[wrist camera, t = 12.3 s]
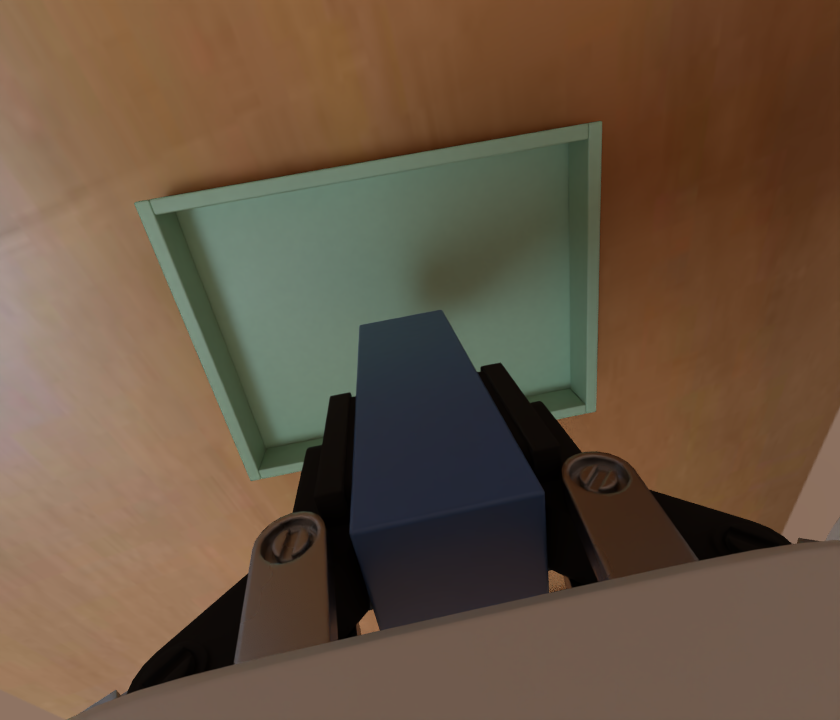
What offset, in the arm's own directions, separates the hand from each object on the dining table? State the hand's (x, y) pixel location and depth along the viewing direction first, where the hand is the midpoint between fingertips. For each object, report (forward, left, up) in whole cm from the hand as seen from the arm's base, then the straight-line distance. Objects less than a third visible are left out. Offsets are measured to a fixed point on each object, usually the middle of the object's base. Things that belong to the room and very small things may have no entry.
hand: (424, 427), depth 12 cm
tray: (0, 0, -11) cm, 11 cm away
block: (0, 0, -5) cm, 5 cm away
